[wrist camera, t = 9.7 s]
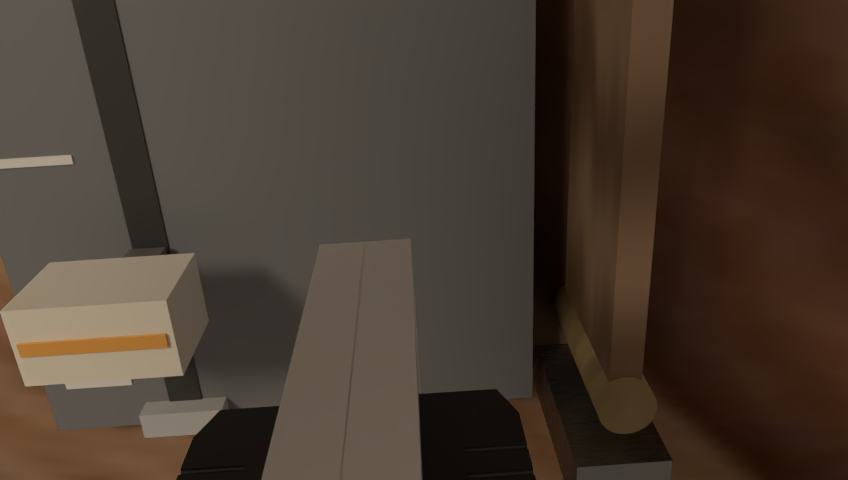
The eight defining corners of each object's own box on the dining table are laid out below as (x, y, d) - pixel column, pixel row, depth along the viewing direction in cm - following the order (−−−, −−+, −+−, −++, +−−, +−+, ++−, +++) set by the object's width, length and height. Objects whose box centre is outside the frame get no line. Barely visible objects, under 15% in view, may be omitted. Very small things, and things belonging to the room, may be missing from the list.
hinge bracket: (535, 346, 29) (577, 467, 22) (610, 341, 29) (672, 460, 22) (535, 387, 29) (575, 515, 23) (607, 382, 29) (667, 509, 23)
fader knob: (76, 236, 23) (-3, 313, 19) (210, 227, 23) (165, 302, 19) (94, 300, 24) (23, 388, 20) (222, 291, 24) (182, 377, 20)
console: (-176, -438, 18) (-270, -498, 16) (526, -476, 18) (547, -540, 16) (80, 398, 29) (49, 444, 26) (523, 367, 29) (536, 410, 26)
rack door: (562, -169, 21) (632, -207, 15) (622, -172, 21) (717, -212, 15) (551, 322, 28) (597, 435, 22) (597, 319, 28) (655, 431, 22)
